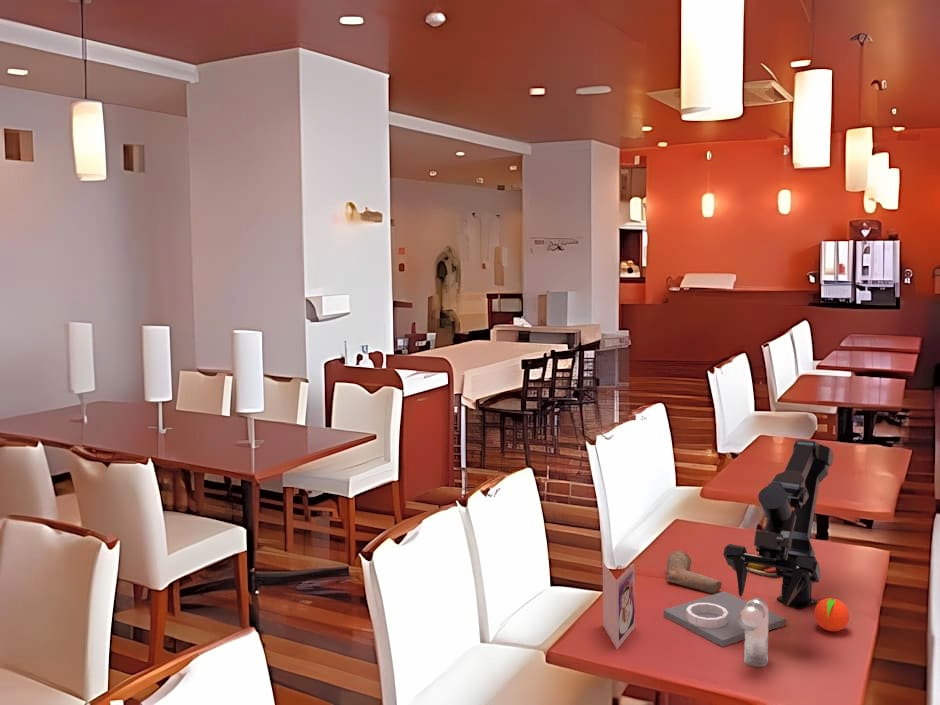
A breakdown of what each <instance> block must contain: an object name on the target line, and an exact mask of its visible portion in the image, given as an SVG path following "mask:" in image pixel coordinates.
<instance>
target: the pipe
mask: <svg viewBox="0 0 940 705" xmlns="http://www.w3.org/2000/svg"><path fill="white" fill-rule="evenodd" d="M691 564H692V558H691V557H690V556H689V554H688V553H686V552H684V551H682V550H674V551H672V552H670V554H669V555H668V557H667V560H666V571H667V572H666V573H667V576H666V580H667V582H669V583H673V584H676V585H680V586H684V587H686V588H689V589H693V588H694V589H693V590H697V591H700V590H701V592H703V591H705V592H704V593H707V592H709V593H708V594H711V593H713V594H712V595H714V593H715V594H717V593H718V592H719V591H720V590H721V589H722V585H723V583H722V581H720V580H717V579H716V578H712V577H709V576H706V575H704V574H700V573H696V572H693V571H691ZM716 592H717V593H716Z"/></svg>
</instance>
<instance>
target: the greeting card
mask: <svg viewBox="0 0 940 705" xmlns="http://www.w3.org/2000/svg"><path fill="white" fill-rule="evenodd" d="M635 567H636V566H635V562H634V563H632V564H631V565H630V566H629V567H628V568H627V569H626V570H625V572H623V574H621V575H620V576H619V578H618V579H616V578H615V577H614V575H613V573H612V572H611V571H610V569H609V567H608V566H607V565H606V563H605V562H604V561H602V627H603V628H604V630H605V632H606V634H607V635H608V637H609V638H610V640H611V642H612V643H613V646H614V647H615V649H616V650H618V649H619V647H620V646H622V644H623V643H625V640H626V639H627V638H628V637H629V635H631V633H632V632H633V630H634V629H635V626H636V624H635V620H636V618H635V614H636V613H635V604H636V600H635V597H636V596H635V592H636V591H635V588H636V587H635V585H636V584H635V583H636V582H635V576H636V574H635Z"/></svg>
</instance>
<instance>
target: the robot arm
mask: <svg viewBox="0 0 940 705" xmlns="http://www.w3.org/2000/svg"><path fill="white" fill-rule="evenodd" d="M833 462H834V452H833V450H832V448H830V447H829V446H827V445H823V444H820V442H818V441H816V440H809V439H808V440H807V439H798V440H795V441H794V443H793V446H792V453H791V455H790V458H789V460H788V462H787V464H786V467H785V469H784V471H783V472H779V473H777V474H776V475H775V476H774V477H773V479H772V480H771V482H769V483H768V485H767V486H765V487H763V488H762V489H761V490H760V491H759V493H758V497H757V498H758V502H759V504H760V508H761V510H762V513H763V516H764V517H765V518H766V521H765V525H764V527H763V529H762V530H759V529H758V530H756V529H755V534H754V540H753V546H754V547H755V552H757V553H759V554H758V555H756V554H750V553H751V552H747V548H746V546H743V545H737V544H732V543H728V544H727V545H726V546H725V547H724V550H723V554H722V555H723V557H724V559H725V562H726V563H727V565H728V566H729V567H731V568H732V570H733V571H735V573H736V578H737V588H738V595H739V597H743V594H744V592H745V586H746V582H747V577H748V570H747V569H746V567H747V566H748V563H753V564H759V565H764V566H770V567H775V568H776V576H775V577H782V584H781V596H777V597H776V601H779V602H781V603H783V604H784V605H785V607H788V606H790V607H792V608H795V609H797V610H800V609H803V608H807V607H809V606H812V605H817V604H818V603H817V602H818V600H816V599H814V598H812V585H813V584H815V583H819V582H820V579H821V568H820V565H819V562H818V560H817V557H816V553H815V550H814V548H813V545H812V543H811V535H812V528H813V523H814V519H815V518H814V516H815V511H816V504H817V500H818V492H819V488H820V484H821V482H822V481H823V480H824V479H825V478H826V477H827V476H829V471H830V467H832V466H833ZM792 508H793V509H792Z"/></svg>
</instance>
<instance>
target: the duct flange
mask: <svg viewBox="0 0 940 705" xmlns="http://www.w3.org/2000/svg"><path fill="white" fill-rule="evenodd" d="M747 602H748V600H744V599H742V598H740V597H738V596H735V595H734V594H731V593H729V592H726V591H720V592H717V593H715V594H711V595H707V596H704V597H701V598H697V599H694V600H691V601H688V602H685V603H681V604H679V605H675V606H671V607H668V608H665V609H663V617H664V618H666V619H668V620H670V621H671V622H674V623H675V624H677V625H680V626H681V627H684V628H685V629H686V630H688V631H691V632H692V633H695V634H696V633H697V635H698V634H699V635H698V636H701V637H703V638H704V639H707V640H708V641H710V642H712V643H714V644H715V645H717V644H718V646H719V645H720V646H719V647H721V646H722V647H721V648H725V647H727V645H728V646H730V644H731V645H733V643H734V644H736V643H739V642H742V641H744V640H743V639H745V629H743V628H742V627H741V626H740V625H739V623H738V615H739V614H740V612H741V611H742V610H743V609H744V608H745V605H746V603H747ZM784 625H785V626H786V618H785V617H783V616H780V615H778V614H776V613H773V612H771V611H769V619H768V632H770V631H769V630H771V631H773V630H772V629H774V630H776V629H775V628H777V629H779V628H781V626H782V627H784ZM778 627H779V628H778ZM741 640H742V641H741ZM738 641H739V642H738ZM735 642H736V643H735ZM724 646H725V647H724Z"/></svg>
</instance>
